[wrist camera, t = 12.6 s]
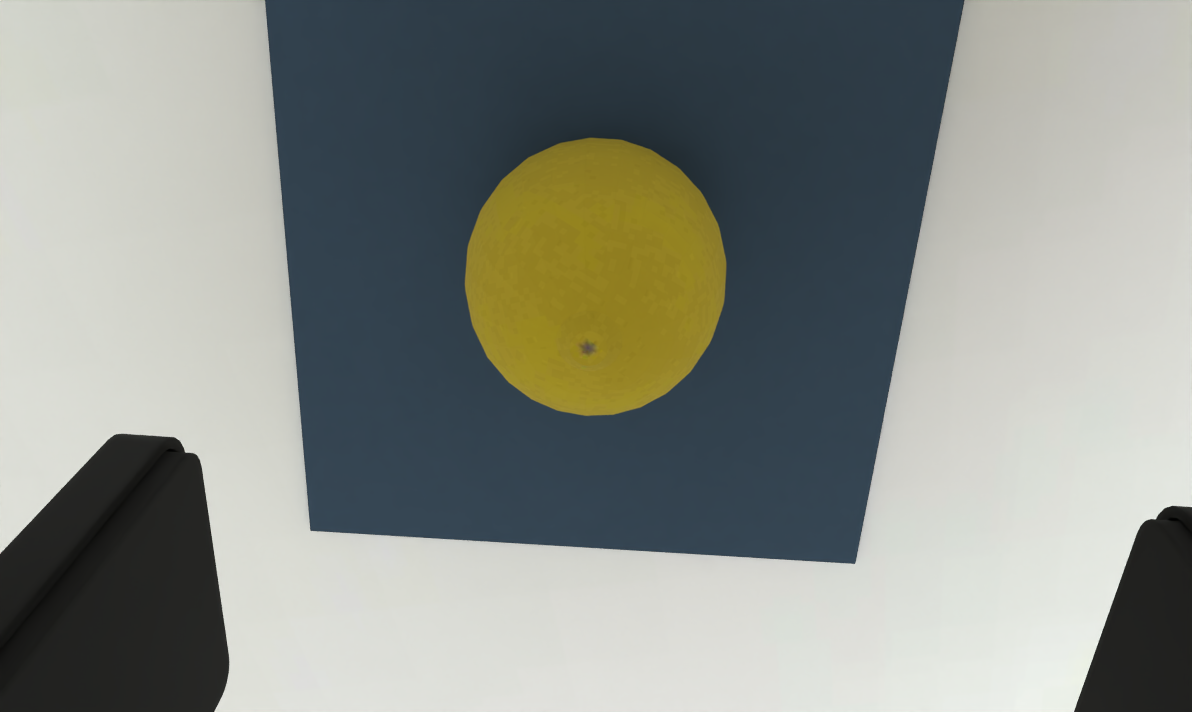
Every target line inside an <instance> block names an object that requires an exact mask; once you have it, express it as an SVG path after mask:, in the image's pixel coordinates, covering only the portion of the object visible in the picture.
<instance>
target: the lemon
mask: <svg viewBox="0 0 1192 712" xmlns="http://www.w3.org/2000/svg"><path fill="white" fill-rule="evenodd" d="M725 281H726V258H725V253H724V248H723V243H722V239H721V234H720V229H719V226H718V223H717V221H716V219H715V217H714V215H713V213H712V212H711V210H710V208H709V206H708V204H707V202H706V200H705V198H704V196H703V194H702V193H701V191H700V190H699V189H698V188H697V187H696V186H695V185H694V184H693V183H692V182H691V181H690V179H689V178H688V177H687V176H686V175H685V174H684V173H683V172H682V171H681V170H680V169H679V168H678V167H677V166H675V165H674V164H672V163H671V162H669V161H668V160H666V159H664V158H663V157H661V156H660V155H658V154H657V153H655V152H654V151H652V150H650V149H647V148H645V147H642V146H639V145H636V144H633V143H630V142H627V141H624V140H618V139H603V138H585V139H580V140H574V141H569V142H563V143H559V144H557V145H554V146H552V147H550V148H548V149H546V150H544V151H541V152H539V153H537V154H535V155H533V156H531V157H528V158H527V159H526V160H525V161H524V162H522V163H521V164H520V165H519V166H518V167H516V168H515V169H514V170H513V171H512V172H511V173H509V174H508V175H507V176H506V177H505V178H504V179H502V180H501V182H500V183H499V185H498V186H497V187H496V189H495V190H494V192H493V193H492V194H491V196H490V197H489V199H488V200H487V202H486V203H485V204H484V206H483V207H482V209H481V211H480V213H479V216H478V219H477V221H476V224H475V227H474V230H473V232H472V235H471V238H470V241H469V244H468V249H467V261H466V275H465V291H466V296H467V301H468V306H469V311H470V317H471V321H472V325H473V328H474V330H475V332H476V334H477V336H478V339H479V341H480V343H481V345H482V347H483V349H484V351H485V353H486V355H487V357H488V359H489V360H490V361H491V362H492V363H493V365H494V366H495V367H496V368H497V369H498V371H499V372H500V373H501V374H502V375H503V376H504V378H505V379H506V380H507V381H508V382H509V383H510V384H511V385H513V386H514V387H516V388H517V389H518V390H520V391H521V392H522V393H524V394H525V395H526V396H528V397H529V398H530V399H532V400H534V401H536V402H539V403H541V404H543V405H546V406H548V407H550V408H553V409H555V410H557V411H562V412H568V413H573V414H579V415H584V416H591V415H614V414H618V413H621V412H625V411H629V410H633V409H636V408H640V407H642V406H644V405H646V404H648V403H650V402H651V401H653V400H655V399H657V398H659V397H661V396H663V395H664V394H666V393H667V392H669V391H670V390H671V389H672V388H673V387H674V386H675V385H677V384H678V383H679V382H680V381H681V380H682V379H683V378H684V377H685V376H687V375H688V374H689V373H690V372H691V370H692V369H693V368H694V366H695V365H696V363H697V362H698V360H699V359H700V357H701V356H702V354H703V353H704V351H705V350H706V348H707V347H708V345H709V344H710V342H711V340H712V337H713V335H714V332H715V329H716V326H717V323H718V320H719V317H720V314H721V311H722V308H723V304H724V298H725Z"/></svg>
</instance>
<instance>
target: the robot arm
mask: <svg viewBox="0 0 1192 712" xmlns="http://www.w3.org/2000/svg"><path fill="white" fill-rule="evenodd" d="M228 673H229V654H228V647H227V640H226V633H225V626H224V619H223V612H222V605H221V598H220V591H219V584H218V577H217V570H216V563H215V557H214V550H213V543H212V536H211V529H210V522H209V515H208V508H207V501H206V494H205V487H204V480H203V473H202V467H201V463H200V460H199V458H198V456H197V455H195V454H194V453H185V451H184V447H183V446H182V444H181V442H180V441H179V440H178V439H176V438H174V437H160V436H146V435H131V434H116V435H114V436H113V437H111V438H110V439H109V440H108V441H107V442H106V443H105V444H104V445H103V446H102V447H101V448H100V449H99V450H98V451H97V452H96V453H95V454H94V455H93V456H92V457H91V459H90V460H89V461H88V462H87V463H86V464H85V465H84V466H83V467H82V468H81V469H80V470H79V471H78V472H77V473H76V474H75V475H74V476H73V478H72V479H71V480H70V481H69V482H68V483H67V484H66V485H65V486H64V487H63V488H62V489H61V490H60V491H59V492H58V493H57V494H56V496H55V497H54V498H53V499H52V500H51V501H50V502H49V503H48V504H47V505H46V506H45V507H44V508H43V509H42V510H41V511H40V512H39V513H38V515H37V516H36V517H35V518H34V519H33V520H32V521H31V522H30V523H29V524H28V525H27V526H26V527H25V528H24V529H23V530H22V531H21V532H20V534H19V535H18V536H17V537H16V538H15V539H14V540H13V541H12V542H11V543H10V544H9V545H8V546H7V547H6V548H5V549H4V550H3V552H2V553H1V554H0V712H214V711H215V709H216V707H217V705H218V703H219V701H220V699H221V697H222V695H223V692H224V690H225V686H226V683H227V678H228ZM1074 712H1192V507H1180V506H1170V507H1167V508H1165V509H1164V510H1163V511H1162V512H1161V513H1160V514H1159V515H1158V516H1157V518H1156V520H1155V519H1150V520H1147V521H1145V522H1144V523H1143V524H1142V525H1141V527H1140V529H1139V531H1138V533H1137V535H1136V538H1135V541H1134V544H1133V547H1132V549H1131V552H1130V555H1129V558H1128V561H1127V564H1126V566H1125V569H1124V572H1123V575H1122V578H1121V580H1120V583H1119V586H1118V589H1117V592H1116V595H1115V597H1114V600H1113V603H1112V606H1111V609H1110V612H1109V614H1108V617H1107V620H1106V623H1105V626H1104V629H1103V631H1102V634H1101V637H1100V640H1099V643H1098V645H1097V648H1096V651H1095V654H1094V657H1093V660H1092V662H1091V665H1090V668H1089V671H1088V674H1087V677H1086V679H1085V682H1084V685H1083V688H1082V691H1081V694H1080V696H1079V699H1078V702H1077V705H1076V708H1075V710H1074Z"/></svg>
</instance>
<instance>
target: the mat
mask: <svg viewBox="0 0 1192 712" xmlns="http://www.w3.org/2000/svg"><path fill="white" fill-rule="evenodd" d="M265 4H266V16H267V27H268V39H269V51H270V62H271V74H272V86H273V97H274V109H275V121H276V133H277V144H278V156H279V168H280V179H281V191H282V203H283V214H284V226H285V238H286V249H287V261H288V273H289V285H290V296H291V308H292V320H293V331H294V343H295V355H296V366H297V378H298V390H299V402H300V413H301V425H302V437H303V448H304V460H305V472H306V483H307V495H308V507H309V518H310V530H311V531H324V532H340V533H357V534H373V535H390V536H406V537H423V538H439V539H456V540H472V541H489V542H505V543H522V544H538V545H555V546H571V547H588V548H604V549H620V550H637V551H653V552H670V553H686V554H703V555H719V556H736V557H752V558H769V559H785V560H802V561H818V562H835V563H851V564H855V562H856V557H857V552H858V547H859V541H860V536H861V531H862V526H863V521H864V516H865V510H866V505H867V500H868V495H869V490H870V485H871V479H872V474H873V469H874V464H875V459H876V454H877V448H878V443H879V438H880V433H881V428H882V423H883V418H884V412H885V407H886V402H887V397H888V392H889V387H890V381H891V376H892V371H893V366H894V361H895V356H896V350H897V345H898V340H899V335H900V330H901V325H902V319H903V314H904V309H905V304H906V299H907V294H908V288H909V283H910V278H911V273H912V268H913V263H914V258H915V252H916V247H917V242H918V237H919V232H920V227H921V221H922V216H923V211H924V206H925V201H926V196H927V190H928V185H929V180H930V175H931V170H932V165H933V159H934V154H935V149H936V144H937V139H938V134H939V128H940V123H941V118H942V113H943V108H944V103H945V98H946V92H947V87H948V82H949V77H950V72H951V67H952V61H953V56H954V51H955V46H956V41H957V36H958V30H959V25H960V20H961V15H962V10H963V5H964V0H265ZM585 138H603V139H618V140H624V141H627V142H630V143H633V144H636V145H639V146H642V147H645V148H647V149H650V150H652V151H654V152H655V153H657V154H658V155H660V156H661V157H663V158H664V159H666V160H668V161H669V162H671V163H672V164H674V165H675V166H677V167H678V168H679V169H680V170H681V171H682V172H683V173H684V174H685V175H686V176H687V177H688V178H689V179H690V181H691V182H692V183H693V184H694V185H695V186H696V187H697V188H698V189H699V190H700V191H701V193H702V194H703V196H704V198H705V200H706V202H707V204H708V206H709V208H710V210H711V212H712V213H713V215H714V217H715V219H716V221H717V223H718V226H719V229H720V234H721V239H722V243H723V248H724V253H725V258H726V281H725V298H724V304H723V308H722V311H721V314H720V317H719V320H718V323H717V326H716V329H715V332H714V335H713V337H712V340H711V342H710V344H709V345H708V347H707V348H706V350H705V351H704V353H703V354H702V356H701V357H700V359H699V360H698V362H697V363H696V365H695V366H694V368H693V369H692V370H691V372H690V373H689V374H688V375H687V376H685V377H684V378H683V379H682V380H681V381H680V382H679V383H678V384H677V385H675V386H674V387H673V388H672V389H671V390H670V391H669V392H667V393H666V394H664V395H663V396H661V397H659V398H657V399H655V400H653V401H651V402H650V403H648V404H646V405H644V406H642V407H640V408H636V409H633V410H629V411H625V412H621V413H618V414H614V415H591V416H584V415H579V414H573V413H568V412H562V411H557V410H555V409H553V408H550V407H548V406H546V405H543V404H541V403H539V402H536V401H534V400H532V399H530V398H529V397H528V396H526V395H525V394H524V393H522V392H521V391H520V390H518V389H517V388H516V387H514V386H513V385H511V384H510V383H509V382H508V381H507V380H506V379H505V378H504V376H503V375H502V374H501V373H500V372H499V371H498V369H497V368H496V367H495V366H494V365H493V363H492V362H491V361H490V360H489V359H488V357H487V355H486V353H485V351H484V349H483V347H482V345H481V343H480V341H479V339H478V336H477V334H476V332H475V330H474V328H473V325H472V321H471V317H470V311H469V306H468V301H467V296H466V291H465V275H466V261H467V249H468V244H469V241H470V238H471V235H472V232H473V230H474V227H475V224H476V221H477V219H478V216H479V213H480V211H481V209H482V207H483V206H484V204H485V203H486V202H487V200H488V199H489V197H490V196H491V194H492V193H493V192H494V190H495V189H496V187H497V186H498V185H499V183H500V182H501V180H502V179H504V178H505V177H506V176H507V175H508V174H509V173H511V172H512V171H513V170H514V169H515V168H516V167H518V166H519V165H520V164H521V163H522V162H524V161H525V160H526V159H527V158H528V157H531V156H533V155H535V154H537V153H539V152H541V151H544V150H546V149H548V148H550V147H552V146H554V145H557V144H559V143H563V142H569V141H574V140H580V139H585Z"/></svg>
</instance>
